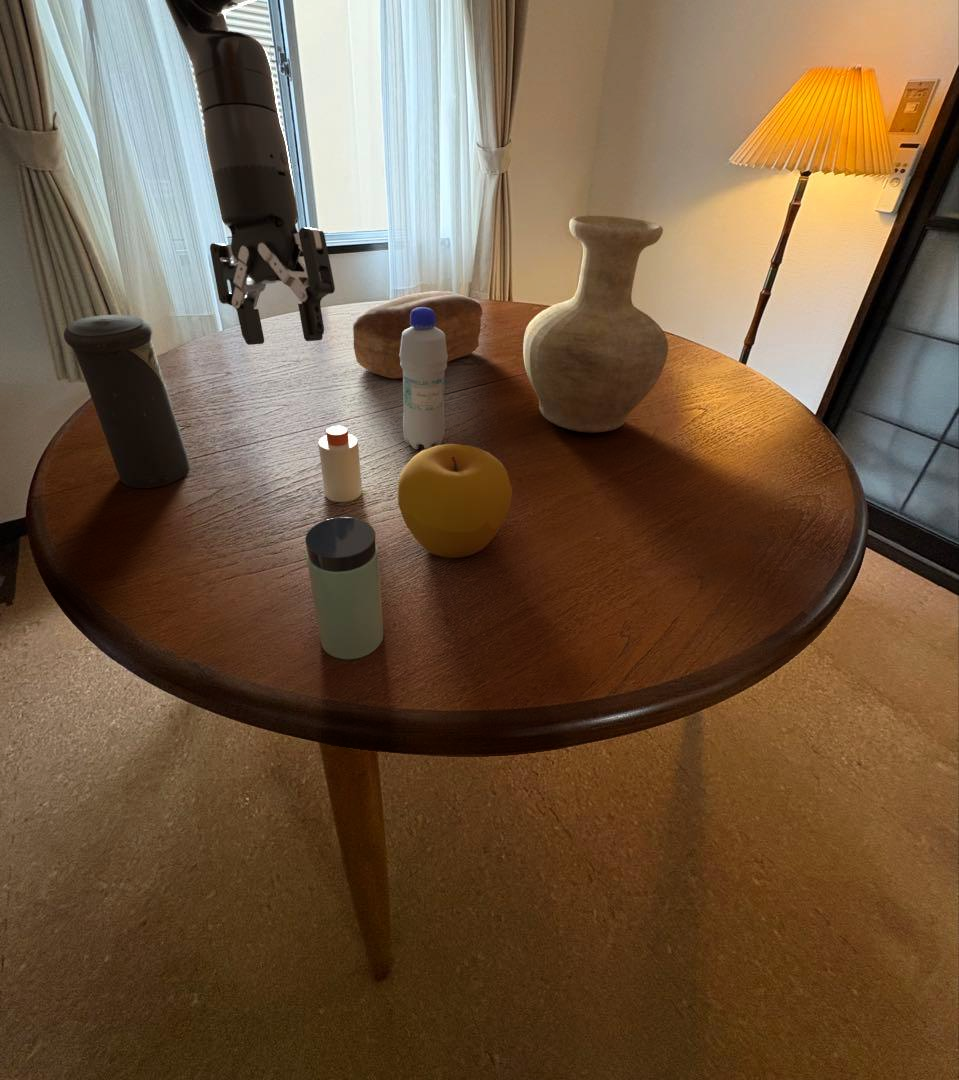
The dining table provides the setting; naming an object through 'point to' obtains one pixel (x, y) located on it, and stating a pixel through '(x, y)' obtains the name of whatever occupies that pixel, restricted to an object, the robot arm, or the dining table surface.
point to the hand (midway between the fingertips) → (284, 342)
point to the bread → (388, 320)
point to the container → (130, 398)
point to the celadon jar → (345, 586)
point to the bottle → (423, 379)
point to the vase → (597, 333)
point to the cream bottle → (340, 465)
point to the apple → (454, 498)
